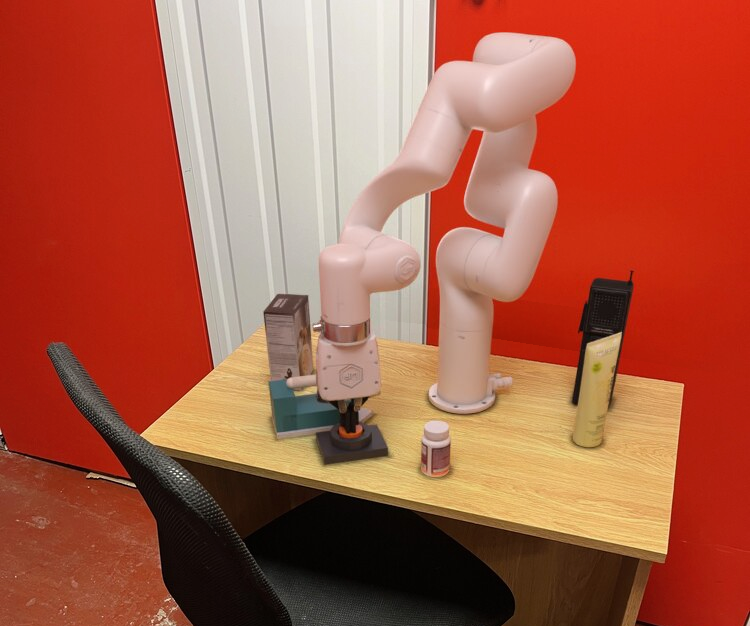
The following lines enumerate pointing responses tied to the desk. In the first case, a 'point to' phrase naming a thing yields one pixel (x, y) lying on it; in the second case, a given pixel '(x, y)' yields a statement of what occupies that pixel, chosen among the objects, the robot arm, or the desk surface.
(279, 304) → the coffee box
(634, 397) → the desk surface
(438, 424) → the pill bottle
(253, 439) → the desk surface
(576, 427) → the tube
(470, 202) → the robot arm
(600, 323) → the portable radio
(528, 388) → the desk surface
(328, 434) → the switch box
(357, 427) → the power button
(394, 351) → the desk surface
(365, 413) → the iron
